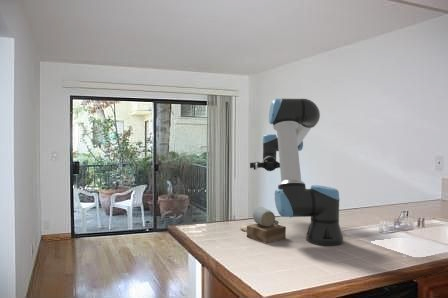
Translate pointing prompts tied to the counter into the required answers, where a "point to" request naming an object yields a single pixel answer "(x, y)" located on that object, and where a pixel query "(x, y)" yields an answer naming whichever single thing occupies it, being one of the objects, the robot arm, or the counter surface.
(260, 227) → the walnut base block
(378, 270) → the counter surface
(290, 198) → the robot arm
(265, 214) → the ceramic mug
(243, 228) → the cork coaster
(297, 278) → the counter surface
